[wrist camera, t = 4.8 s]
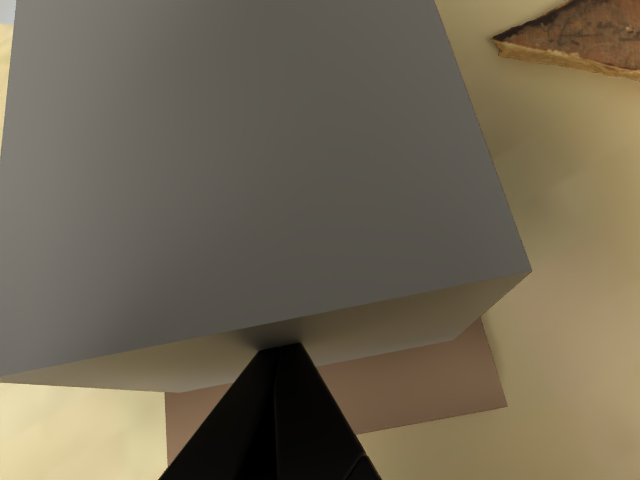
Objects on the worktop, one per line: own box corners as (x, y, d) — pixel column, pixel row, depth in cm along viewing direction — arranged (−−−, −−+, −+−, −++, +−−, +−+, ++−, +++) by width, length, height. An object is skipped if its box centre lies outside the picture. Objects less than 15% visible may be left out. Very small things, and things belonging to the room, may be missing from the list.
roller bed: (498, 406, 15) (621, 408, 7) (183, 464, 16) (-6, 521, 8) (367, -31, 23) (361, -254, 15) (158, 19, 23) (50, -170, 16)
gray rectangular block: (452, 340, 13) (531, 271, 6) (179, 392, 13) (-22, 380, 6) (375, 64, 16) (373, -166, 10) (163, 112, 17) (24, -77, 10)
